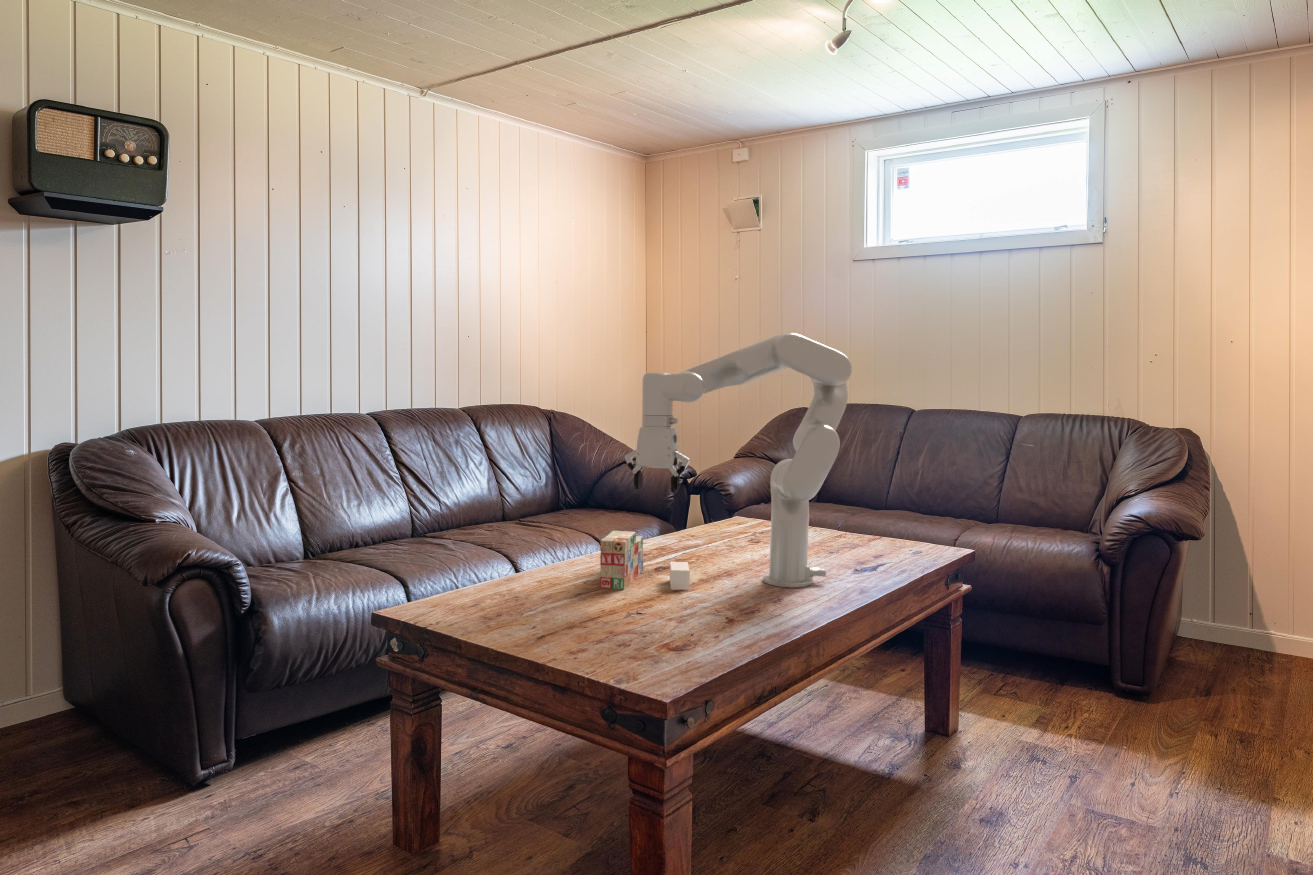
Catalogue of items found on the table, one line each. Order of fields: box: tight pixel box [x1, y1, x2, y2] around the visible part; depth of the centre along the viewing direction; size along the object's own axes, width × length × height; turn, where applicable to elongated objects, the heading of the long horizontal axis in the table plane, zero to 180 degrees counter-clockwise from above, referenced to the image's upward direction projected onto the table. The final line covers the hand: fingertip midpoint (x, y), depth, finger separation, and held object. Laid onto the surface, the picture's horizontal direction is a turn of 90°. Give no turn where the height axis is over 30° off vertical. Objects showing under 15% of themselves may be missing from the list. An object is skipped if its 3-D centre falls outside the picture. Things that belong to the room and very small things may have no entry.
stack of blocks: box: [599, 530, 644, 591], centre depth 223 cm, size 21×6×12 cm, turn 168°
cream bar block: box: [669, 561, 691, 591], centre depth 218 cm, size 4×9×5 cm, turn 1°
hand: (656, 490), depth 218 cm, fingers open, 9 cm apart
